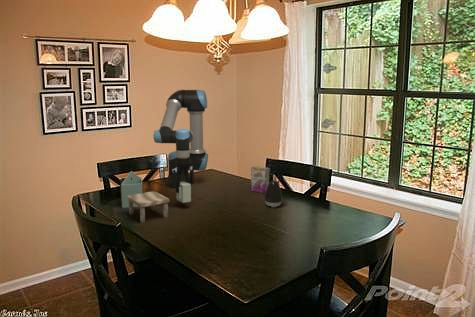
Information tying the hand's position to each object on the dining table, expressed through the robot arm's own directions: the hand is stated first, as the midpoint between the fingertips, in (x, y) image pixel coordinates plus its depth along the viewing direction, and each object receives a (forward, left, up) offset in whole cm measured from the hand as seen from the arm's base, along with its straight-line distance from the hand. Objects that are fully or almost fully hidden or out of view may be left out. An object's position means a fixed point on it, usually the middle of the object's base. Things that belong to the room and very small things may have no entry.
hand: (183, 197), depth 229 cm
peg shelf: (+22, +1, -6) cm, 23 cm away
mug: (+19, -32, -6) cm, 38 cm away
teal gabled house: (+20, -19, -6) cm, 28 cm away
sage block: (0, 0, -2) cm, 2 cm away
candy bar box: (-56, 0, -6) cm, 56 cm away
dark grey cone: (-44, +27, -6) cm, 52 cm away
